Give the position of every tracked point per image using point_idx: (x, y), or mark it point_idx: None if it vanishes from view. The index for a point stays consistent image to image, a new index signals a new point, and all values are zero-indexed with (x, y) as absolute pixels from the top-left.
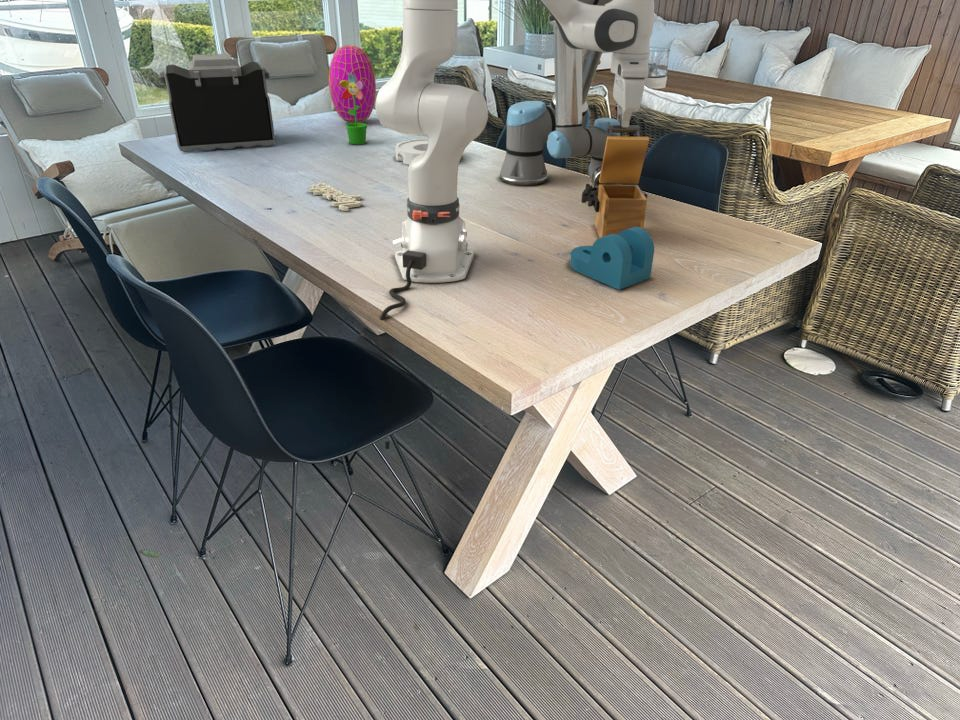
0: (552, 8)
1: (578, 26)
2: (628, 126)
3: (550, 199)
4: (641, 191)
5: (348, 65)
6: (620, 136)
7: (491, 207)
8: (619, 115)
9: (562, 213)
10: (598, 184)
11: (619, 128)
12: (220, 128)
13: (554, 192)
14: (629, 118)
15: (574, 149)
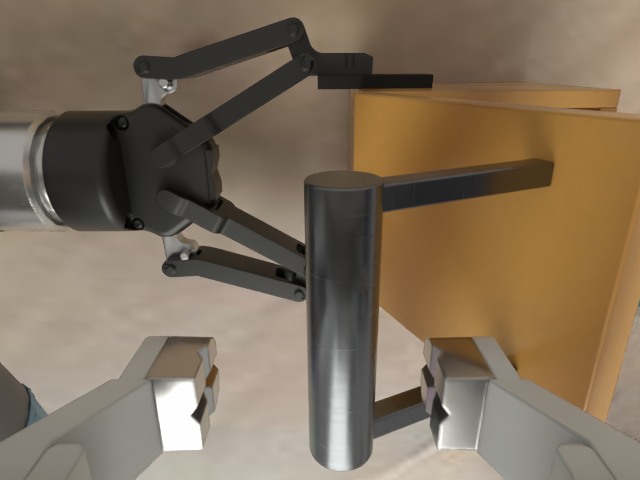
0: None
1: None
2: (490, 337)
3: (95, 327)
4: (480, 93)
5: None
6: (594, 377)
7: (208, 473)
8: (201, 436)
9: (235, 302)
10: (157, 225)
11: (375, 374)
12: None
13: (10, 311)
14: (548, 400)
15: (14, 399)
